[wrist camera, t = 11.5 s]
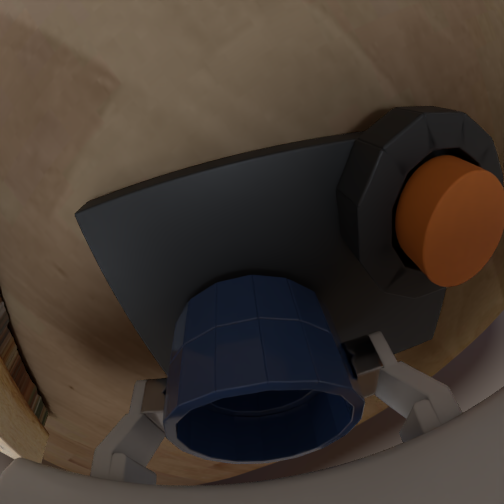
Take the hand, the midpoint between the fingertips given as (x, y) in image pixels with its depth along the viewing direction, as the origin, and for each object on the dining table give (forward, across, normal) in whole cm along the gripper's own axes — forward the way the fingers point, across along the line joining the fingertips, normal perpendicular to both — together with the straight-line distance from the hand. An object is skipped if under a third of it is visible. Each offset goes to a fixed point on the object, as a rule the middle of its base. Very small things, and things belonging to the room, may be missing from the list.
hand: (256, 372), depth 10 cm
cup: (+2, 0, 0) cm, 2 cm away
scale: (+4, -2, -1) cm, 4 cm away
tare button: (+1, -7, -5) cm, 9 cm away
